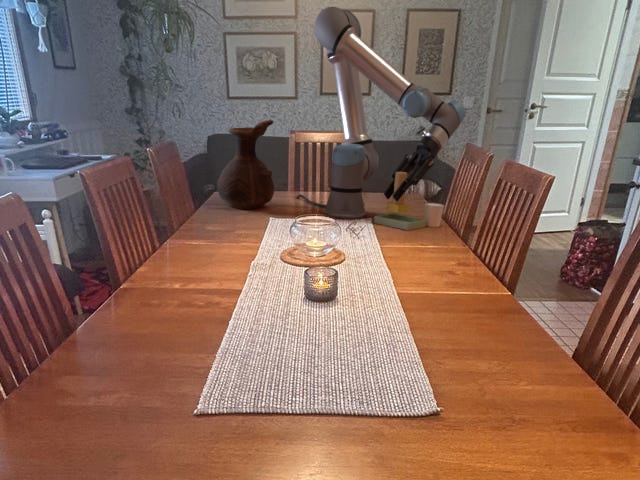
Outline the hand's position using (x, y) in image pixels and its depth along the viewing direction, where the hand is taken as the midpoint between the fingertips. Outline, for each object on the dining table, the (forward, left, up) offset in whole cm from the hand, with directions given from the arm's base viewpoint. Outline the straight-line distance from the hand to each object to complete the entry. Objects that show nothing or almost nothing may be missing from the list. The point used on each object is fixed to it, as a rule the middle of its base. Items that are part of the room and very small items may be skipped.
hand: (390, 197), depth 207 cm
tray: (+4, +2, -9) cm, 10 cm away
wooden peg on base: (+1, +4, -5) cm, 6 cm away
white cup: (+11, +12, -9) cm, 18 cm away
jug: (-53, -22, -9) cm, 58 cm away
